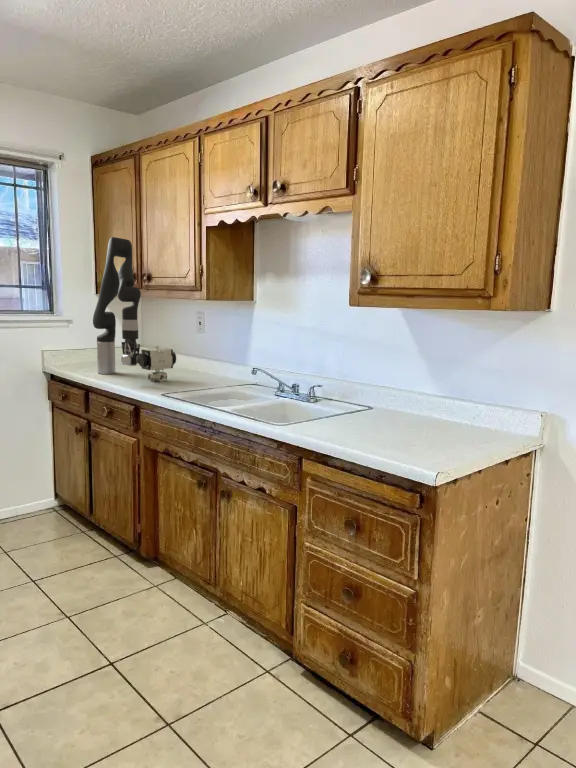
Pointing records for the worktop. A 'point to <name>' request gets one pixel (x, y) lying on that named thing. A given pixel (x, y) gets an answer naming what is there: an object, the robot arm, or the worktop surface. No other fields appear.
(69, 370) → the worktop surface
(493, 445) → the worktop surface
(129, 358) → the coupling
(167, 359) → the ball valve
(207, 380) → the worktop surface
